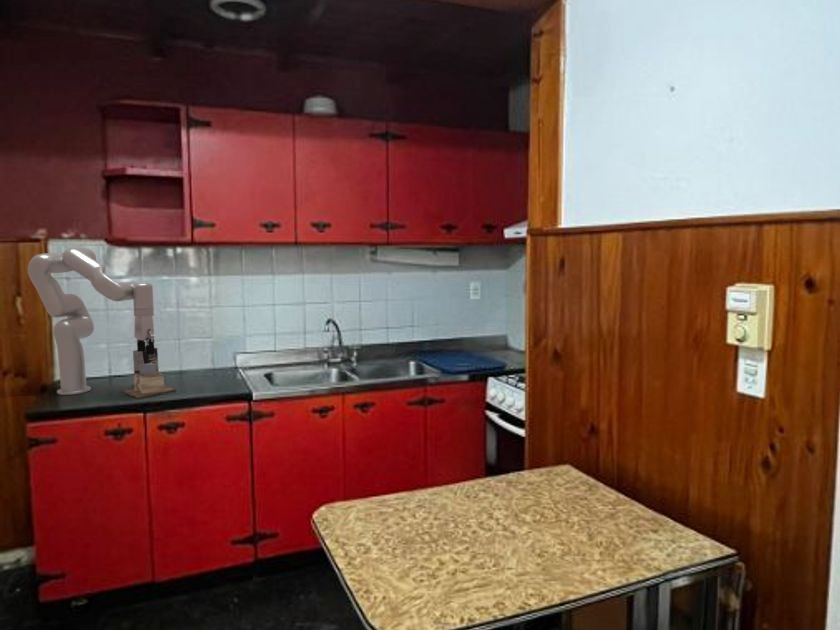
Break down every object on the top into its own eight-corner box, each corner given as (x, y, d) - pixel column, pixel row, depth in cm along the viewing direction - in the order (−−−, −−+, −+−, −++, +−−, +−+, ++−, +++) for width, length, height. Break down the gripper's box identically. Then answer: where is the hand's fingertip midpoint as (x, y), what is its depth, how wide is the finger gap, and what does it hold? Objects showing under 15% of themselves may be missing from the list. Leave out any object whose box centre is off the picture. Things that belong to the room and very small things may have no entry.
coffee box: (147, 387, 266) (144, 351, 264) (134, 386, 268) (131, 350, 266) (160, 382, 275) (157, 347, 273) (147, 382, 276) (145, 347, 275)
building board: (123, 392, 257) (121, 374, 256) (161, 386, 268) (160, 368, 267) (136, 399, 245) (135, 379, 244) (176, 391, 256) (174, 373, 255)
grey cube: (140, 376, 256) (139, 364, 255) (152, 374, 259) (151, 362, 259) (144, 377, 252) (143, 366, 252) (156, 376, 256) (155, 364, 255)
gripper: (127, 311, 256) (129, 351, 258) (142, 315, 244) (144, 356, 246) (145, 310, 261) (147, 349, 263) (161, 313, 249) (163, 354, 251)
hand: (145, 352), depth 255 cm, fingers open, 9 cm apart
